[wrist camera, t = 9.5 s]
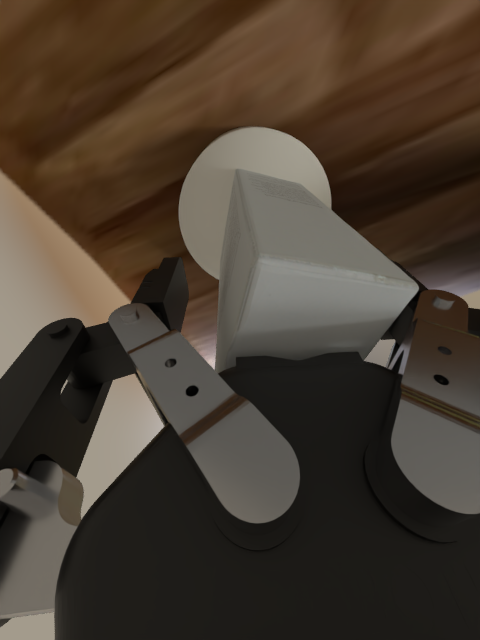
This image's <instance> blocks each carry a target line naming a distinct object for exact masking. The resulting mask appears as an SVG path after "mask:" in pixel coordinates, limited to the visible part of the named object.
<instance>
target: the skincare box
mask: <svg viewBox="0 0 480 640" xmlns="http://www.w3.org/2000/svg"><path fill="white" fill-rule="evenodd" d="M418 290H419V287H418V285H417V283H416V282H415V281H414V280H413V279H411V278H410V277H409V276H408V275H406V274H405V273H404V272H403V271H402V270H401V269H400V268H399V267H398V266H396V265H395V264H394V263H393V262H392V261H390V260H389V259H388V258H387V257H386V256H385V255H383V254H382V253H381V252H380V251H379V250H377V249H376V248H375V247H374V246H373V245H372V244H370V243H369V242H368V241H367V240H366V239H365V238H364V237H363V236H361V235H360V234H359V233H358V232H357V231H355V230H354V229H353V228H352V227H351V226H349V225H348V224H347V223H346V222H344V221H343V220H342V219H341V218H340V217H339V216H338V215H336V214H335V213H334V212H333V211H332V210H331V209H329V208H328V207H327V206H326V205H325V204H324V203H323V202H321V201H320V200H319V199H318V198H317V197H316V196H314V195H313V194H312V193H311V192H310V191H308V190H307V189H306V188H305V187H304V186H303V185H302V184H300V183H296V182H291V181H287V180H283V179H279V178H275V177H272V176H268V175H264V174H260V173H256V172H252V171H247V170H243V169H238V168H237V169H236V170H235V174H234V180H233V186H232V191H231V197H230V203H229V209H228V215H227V221H226V227H225V233H224V240H223V246H222V252H221V258H220V274H219V300H218V322H217V344H216V362H215V372H216V373H219V372H221V371H223V370H226V369H228V368H231V367H235V366H236V357H248V356H271V357H278V358H284V359H291V360H303V359H307V358H311V357H315V356H318V355H322V354H326V353H337V352H359V354H360V356H361V358H362V359H363V361H364V359H365V358H366V357H367V356H368V354H369V353H370V352H371V350H372V349H373V348H374V346H375V345H376V344H377V342H378V341H379V340H380V339H381V337H382V336H383V335H384V333H385V332H386V331H387V330H388V328H389V327H390V326H391V325H392V323H393V322H394V321H395V320H396V318H397V317H398V316H399V314H400V313H401V312H402V310H403V309H404V308H405V306H406V305H407V304H408V303H409V302H410V300H411V299H412V298H413V297H414V296H415V295H416V293H417V292H418Z"/></svg>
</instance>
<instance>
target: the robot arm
mask: <svg viewBox="0 0 480 640" xmlns="http://www.w3.org/2000/svg"><path fill="white" fill-rule="evenodd" d="M376 249H377V248H376ZM377 250H379V249H377ZM379 251H380V250H379ZM380 252H381V251H380ZM381 253H382V252H381ZM382 254H383V253H382ZM383 255H384V254H383ZM385 256H386V255H385ZM386 257H387V256H386ZM387 258H388V257H387ZM388 259H389V258H388ZM389 260H390V259H389ZM390 261H392V260H390ZM392 262H393V263H394V264H395V265H396V266H398V267H399V268H400V269H401V270H402V271H403V272H404V273H405V274H406V275H408V276H409V277H410V278H411V279H413V280H414V281H415V282H416V283H417V285H418V287H419V290H418V292H417V293H416V295H415V296H414V297H413V298H412V299H411V300H410V302H409V303H408V304H407V305H406V306H405V308H404V309H403V310H402V312H401V313H400V314H399V316H398V317H397V318H396V320H395V321H394V322H393V323H392V325H391V326H390V327H389V328H388V330H387V331H386V332H385V333H384V335H383V336H382V337H381V340H386V339H395V343H394V345H393V347H392V349H391V353H390V355H389V358H388V362H387V364H386V367H383V366H381V365H377V364H374V363H370V362H366V361H363V359H362V358H361V356H360V354H359V352H337V353H326V354H322V355H318V356H315V357H311V358H307V359H303V360H291V359H284V358H278V357H271V356H248V357H236V366H235V367H231V368H228V369H226V370H223V371H221V372H219V373H216V372H215V370H214V369H213V368H212V367H211V366H210V365H209V364H208V363H207V362H206V361H205V360H204V358H203V357H202V356H201V355H200V354H199V353H198V352H197V351H196V350H195V349H194V348H193V347H192V345H191V344H190V343H189V342H188V341H187V340H186V339H185V338H184V337H183V336H182V335H181V333H180V332H181V328H182V324H183V320H184V315H185V311H186V307H187V303H188V297H189V292H188V285H187V280H186V275H185V270H184V265H183V261H182V258H181V257H172V258H164V259H163V261H162V263H161V265H160V267H159V269H153V270H152V271H150V272H149V273H148V274H147V275H146V276H145V278H144V279H143V281H142V282H143V283H141V285H140V288H139V289H138V291H137V292H136V294H135V296H134V298H133V300H132V302H131V304H127V305H124V306H122V307H120V308H118V309H116V310H115V311H114V312H112V313H111V315H110V316H109V319H108V320H109V321H108V322H107V323H103V324H99V325H95V326H91V327H87V328H85V326H84V325H83V323H82V321H81V320H79V319H76V318H66V319H61V320H58V321H55V322H53V323H50V324H49V325H47V326H45V327H44V328H43V329H41V330H40V331H39V332H38V333H37V334H36V336H35V337H34V338H33V340H32V341H31V342H30V343H29V344H28V346H27V347H26V348H25V349H24V350H23V352H22V353H21V354H20V355H19V357H18V358H17V359H16V360H15V362H14V363H13V364H12V365H11V367H10V368H9V369H8V370H7V372H6V373H5V374H4V375H3V376H2V378H1V379H0V627H1V626H3V625H4V624H5V623H7V622H8V621H9V620H10V619H11V618H14V617H21V616H28V615H36V614H44V613H51V612H55V615H54V618H55V640H480V309H474V308H468V304H467V303H466V302H465V301H464V300H463V299H462V298H460V297H459V296H457V295H455V294H452V293H449V292H446V291H442V290H428V289H427V288H426V287H425V286H424V285H423V284H422V283H420V282H419V281H418V280H417V279H416V278H415V277H414V276H412V275H411V274H410V273H409V272H408V271H406V269H404V268H403V267H402V266H401V265H400V264H399V263H397V262H394V261H392ZM134 373H135V375H136V377H137V378H138V380H139V382H140V384H141V386H142V387H143V389H144V391H145V392H146V394H147V396H148V398H149V399H150V401H151V403H152V404H153V406H154V408H155V410H156V412H157V413H158V415H159V417H160V419H161V421H162V422H163V424H164V426H165V427H164V428H163V429H162V430H161V431H160V432H159V433H158V434H157V435H156V436H155V437H154V438H153V439H152V441H151V442H150V443H149V444H148V445H147V446H146V447H145V448H144V449H143V450H142V452H141V453H140V454H139V455H138V456H137V457H136V458H135V459H134V460H133V461H132V462H131V463H130V464H129V465H128V466H127V468H126V469H125V470H124V471H123V472H122V473H121V474H120V475H119V476H118V477H117V478H116V479H115V481H114V482H113V483H112V484H111V485H110V486H109V487H108V488H107V489H106V490H105V491H104V492H103V494H102V495H101V496H100V497H99V498H98V499H97V500H96V501H95V502H94V504H93V505H92V506H91V507H90V509H89V510H88V511H87V513H86V514H85V516H84V517H83V518H82V520H81V506H82V502H83V495H84V491H83V486H82V483H81V482H80V481H79V480H78V479H77V478H76V477H77V474H78V471H79V469H80V466H81V463H82V461H83V458H84V455H85V453H86V450H87V447H88V445H89V442H90V439H91V437H92V434H93V431H94V429H95V426H96V423H97V421H98V418H99V415H100V413H101V410H102V408H103V405H104V402H105V400H106V397H107V394H108V392H109V389H110V387H111V384H112V381H113V380H115V379H118V378H121V377H124V376H128V375H131V374H134ZM66 380H68V382H67V384H66V386H65V388H64V390H63V392H62V393H61V389H62V387H63V385H64V383H65V381H66ZM60 394H61V395H60Z"/></svg>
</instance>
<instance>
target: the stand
mask: <svg viewBox="0 0 480 640" xmlns="http://www.w3.org/2000/svg"><path fill="white" fill-rule="evenodd" d="M237 168H238V169H243V170H247V171H252V172H256V173H260V174H264V175H268V176H272V177H275V178H279V179H283V180H287V181H291V182H296V183H300V184H302V185H303V186H304V187H305V188H306V189H307V190H308V191H310V192H311V193H312V194H313V195H314V196H316V197H317V198H318V199H319V200H320V201H321V202H323V203H324V204H325V205H326V206H327V207H328V208H329V209H331V193H330V187H329V183H328V179H327V176H326V174H325V171H324V169H323V167H322V165H321V164H320V162H319V160H318V159H317V157H316V156H315V155H314V154H313V153H312V152H311V150H310V149H309V148H308V147H306V146H305V145H304V144H303V143H302V142H300V141H299V140H297V139H296V138H294V137H292V136H291V135H288V134H285V133H283V132H280V131H277V130H274V129H271V128H267V127H262V126H245V127H239V128H236V129H232V130H230V131H228V132H226V133H224V134H222V135H220V136H219V137H217V138H216V139H214V140H213V141H212V142H211V143H210V144H209V145H208V146H207V147H206V148H205V149H204V151H203V152H202V153H201V154H200V156H199V157H198V158H197V160H196V161H195V162H194V164H193V165H192V167H191V169H190V171H189V172H188V174H187V176H186V179H185V181H184V184H183V187H182V190H181V194H180V200H179V223H180V229H181V233H182V237H183V240H184V242H185V245H186V247H187V249H188V250H189V252H190V254H191V255H192V257H193V258H194V260H195V261H196V262H197V263H198V264H199V265H200V266H201V268H203V269H204V270H205V271H206V272H207V273H208V274H210V275H212V276H213V277H215V278H216V279H218V280H219V274H220V258H221V252H222V246H223V240H224V233H225V227H226V221H227V215H228V209H229V203H230V197H231V191H232V186H233V180H234V174H235V170H236V169H237Z"/></svg>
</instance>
